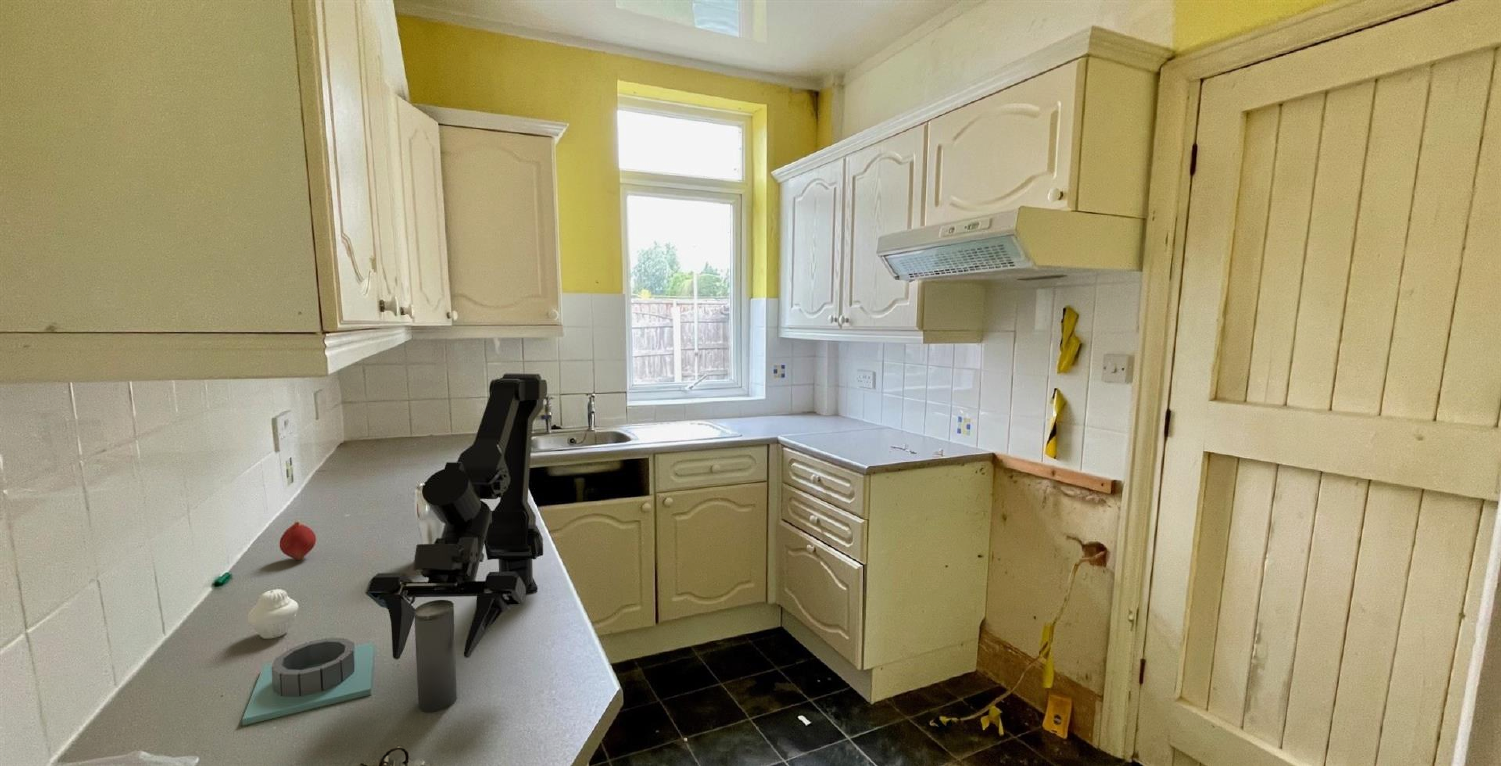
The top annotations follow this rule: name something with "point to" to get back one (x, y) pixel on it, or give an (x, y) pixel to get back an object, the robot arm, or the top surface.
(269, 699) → the socket
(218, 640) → the top surface
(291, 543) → the onion
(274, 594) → the muffin
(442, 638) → the plug
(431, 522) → the beer glass
